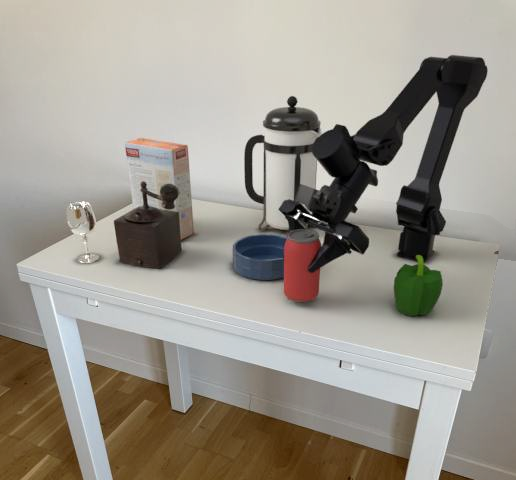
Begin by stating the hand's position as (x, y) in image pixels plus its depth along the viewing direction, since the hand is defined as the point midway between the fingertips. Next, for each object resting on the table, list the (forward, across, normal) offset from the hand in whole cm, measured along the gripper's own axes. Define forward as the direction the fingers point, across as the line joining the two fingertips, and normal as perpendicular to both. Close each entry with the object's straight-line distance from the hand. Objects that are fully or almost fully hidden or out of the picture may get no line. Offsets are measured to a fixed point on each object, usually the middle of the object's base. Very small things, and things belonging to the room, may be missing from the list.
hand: (296, 265), depth 97 cm
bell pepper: (-5, +16, +16) cm, 23 cm away
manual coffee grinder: (+13, -33, -2) cm, 36 cm away
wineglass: (+21, -43, -10) cm, 49 cm away
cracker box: (+7, -46, +5) cm, 47 cm away
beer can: (+4, 0, +6) cm, 7 cm away
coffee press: (-10, -31, +22) cm, 39 cm away
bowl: (+2, -16, +10) cm, 19 cm away
